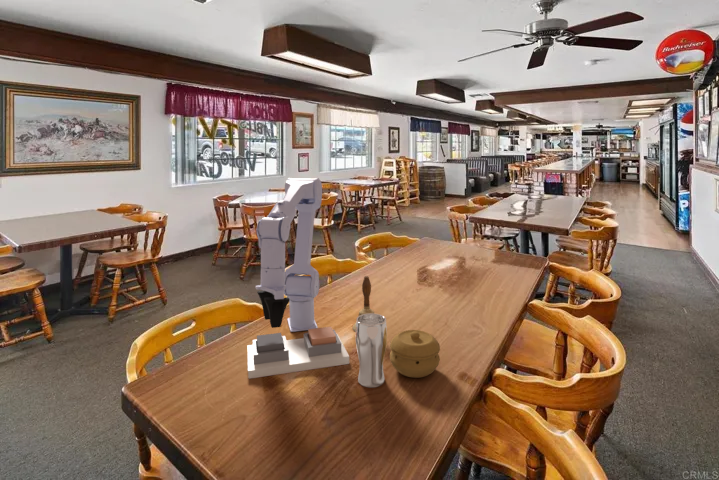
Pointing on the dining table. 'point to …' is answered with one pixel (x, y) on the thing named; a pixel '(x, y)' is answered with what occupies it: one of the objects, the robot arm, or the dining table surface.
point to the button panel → (295, 357)
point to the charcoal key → (269, 342)
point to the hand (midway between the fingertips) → (272, 322)
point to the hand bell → (365, 298)
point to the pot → (414, 353)
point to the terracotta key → (321, 336)
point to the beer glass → (371, 348)
